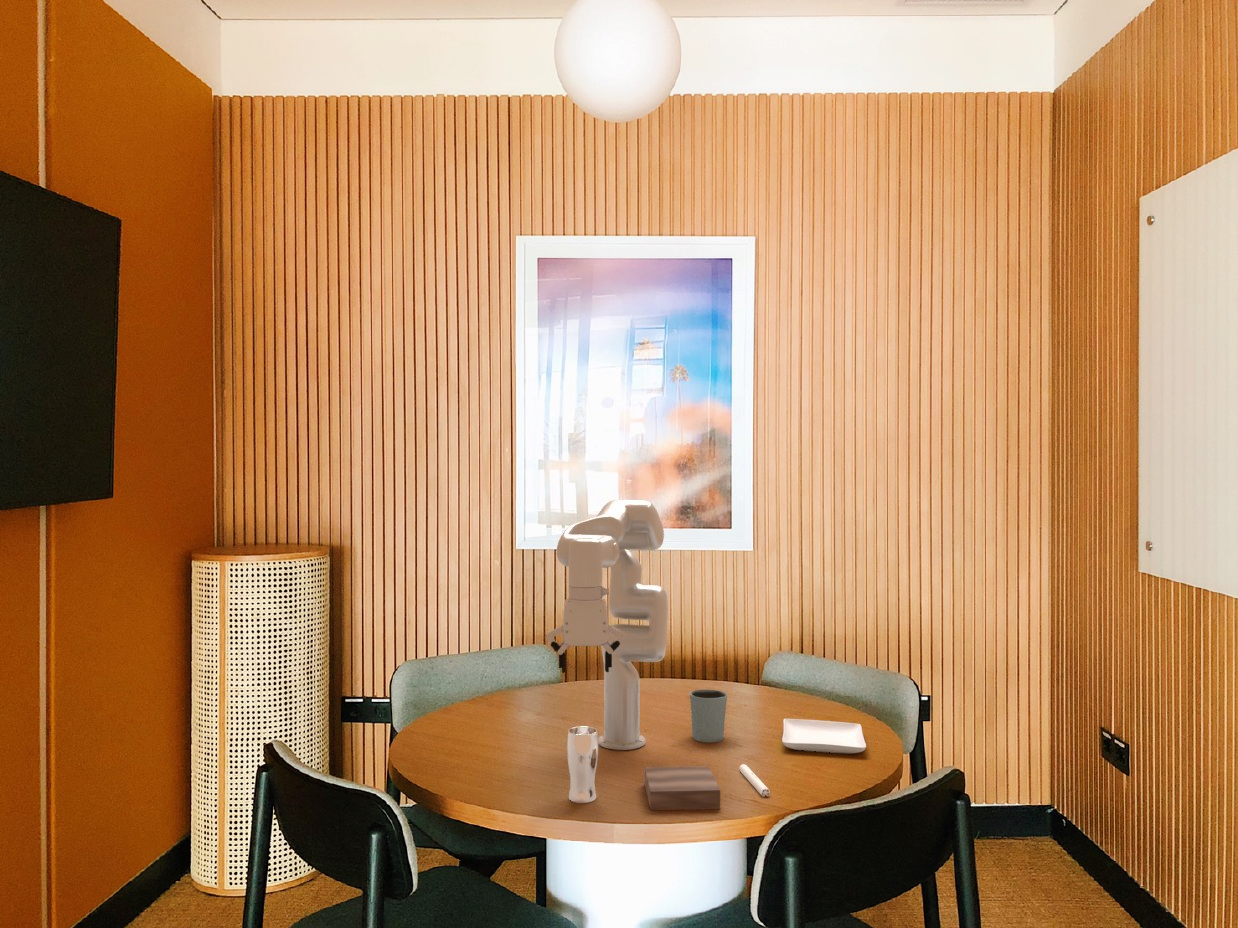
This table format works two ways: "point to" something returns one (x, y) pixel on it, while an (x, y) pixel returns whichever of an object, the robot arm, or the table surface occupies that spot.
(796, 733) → the salad plate
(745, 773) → the marker
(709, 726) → the grey green cup
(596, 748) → the beer glass
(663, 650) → the robot arm
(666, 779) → the walnut plinth
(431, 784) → the table surface
